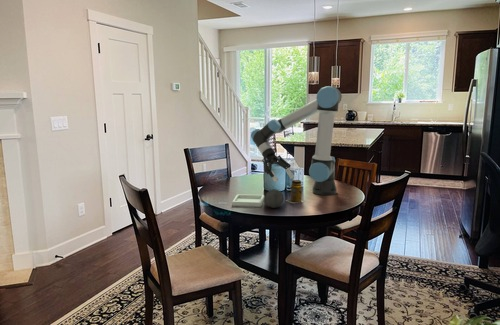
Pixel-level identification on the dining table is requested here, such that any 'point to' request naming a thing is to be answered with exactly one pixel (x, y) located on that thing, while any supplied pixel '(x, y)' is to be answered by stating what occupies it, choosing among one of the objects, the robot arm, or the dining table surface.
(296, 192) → the condiment
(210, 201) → the dining table surface
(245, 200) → the sage tray
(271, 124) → the robot arm
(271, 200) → the decorative ball
